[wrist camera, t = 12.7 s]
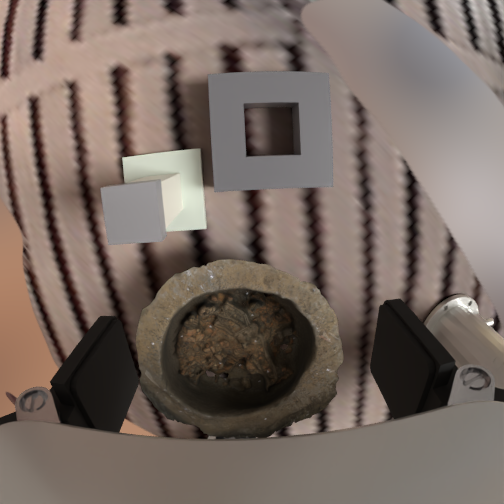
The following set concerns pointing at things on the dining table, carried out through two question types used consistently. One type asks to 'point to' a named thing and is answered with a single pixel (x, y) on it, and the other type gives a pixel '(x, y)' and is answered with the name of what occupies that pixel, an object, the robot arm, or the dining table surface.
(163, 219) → the plug
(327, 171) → the grey square ring
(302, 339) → the stone bowl
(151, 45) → the dining table surface
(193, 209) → the coaster
